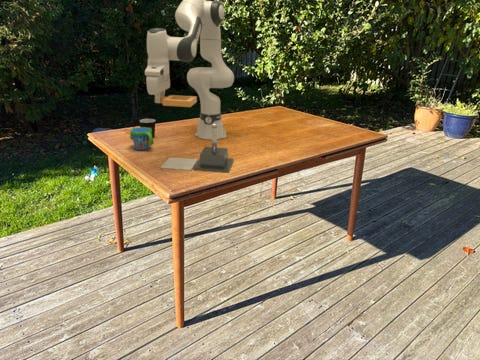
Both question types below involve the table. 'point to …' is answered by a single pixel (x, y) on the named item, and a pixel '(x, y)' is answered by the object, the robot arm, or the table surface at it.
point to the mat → (179, 164)
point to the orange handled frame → (178, 100)
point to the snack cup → (142, 138)
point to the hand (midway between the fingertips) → (160, 101)
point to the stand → (214, 156)
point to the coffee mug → (148, 125)
